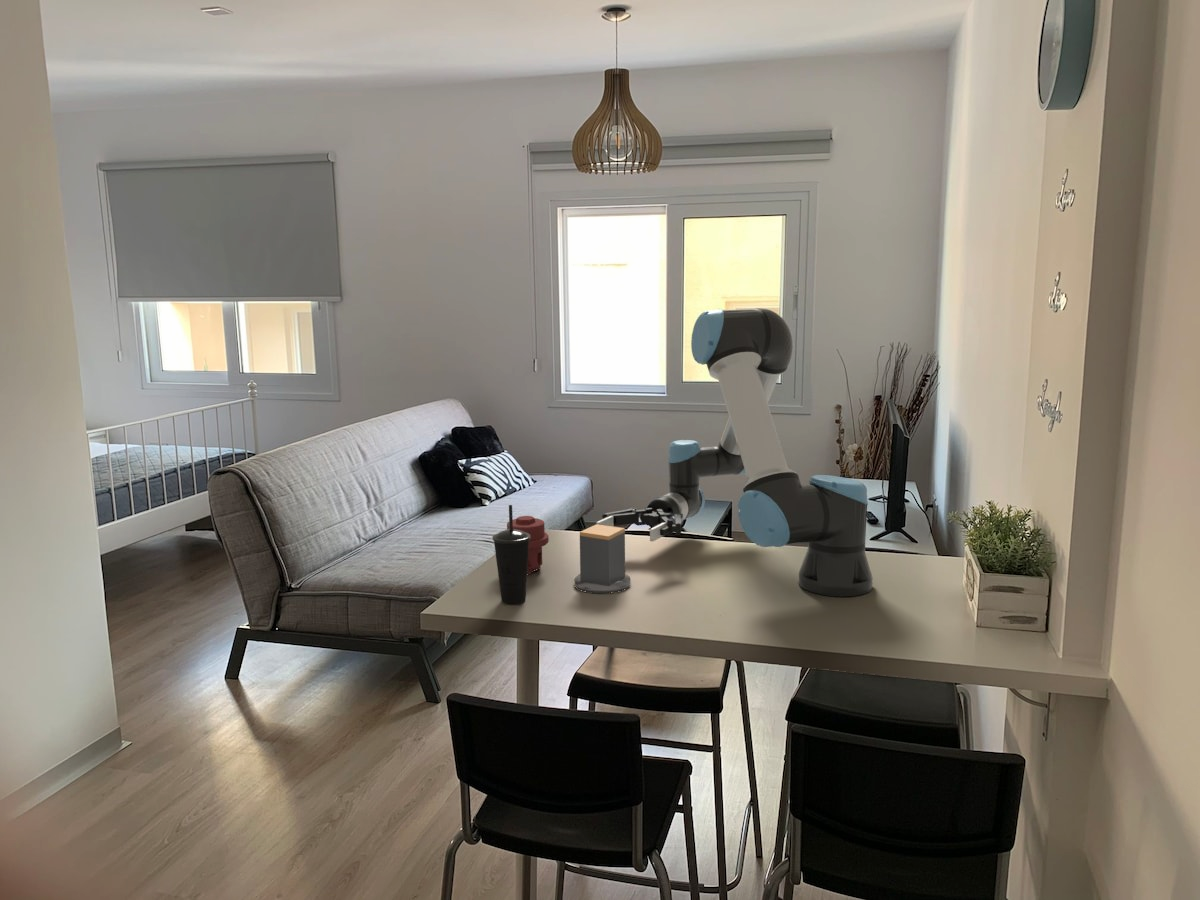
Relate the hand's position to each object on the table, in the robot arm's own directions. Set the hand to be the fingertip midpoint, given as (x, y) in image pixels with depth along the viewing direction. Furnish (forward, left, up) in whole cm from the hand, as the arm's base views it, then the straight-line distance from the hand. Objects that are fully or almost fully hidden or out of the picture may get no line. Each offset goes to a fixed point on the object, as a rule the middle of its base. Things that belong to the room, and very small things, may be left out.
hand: (624, 531), depth 200 cm
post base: (+2, +10, -9) cm, 14 cm away
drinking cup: (+17, +24, -9) cm, 31 cm away
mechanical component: (+21, +5, -9) cm, 24 cm away
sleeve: (+2, +9, -8) cm, 13 cm away
